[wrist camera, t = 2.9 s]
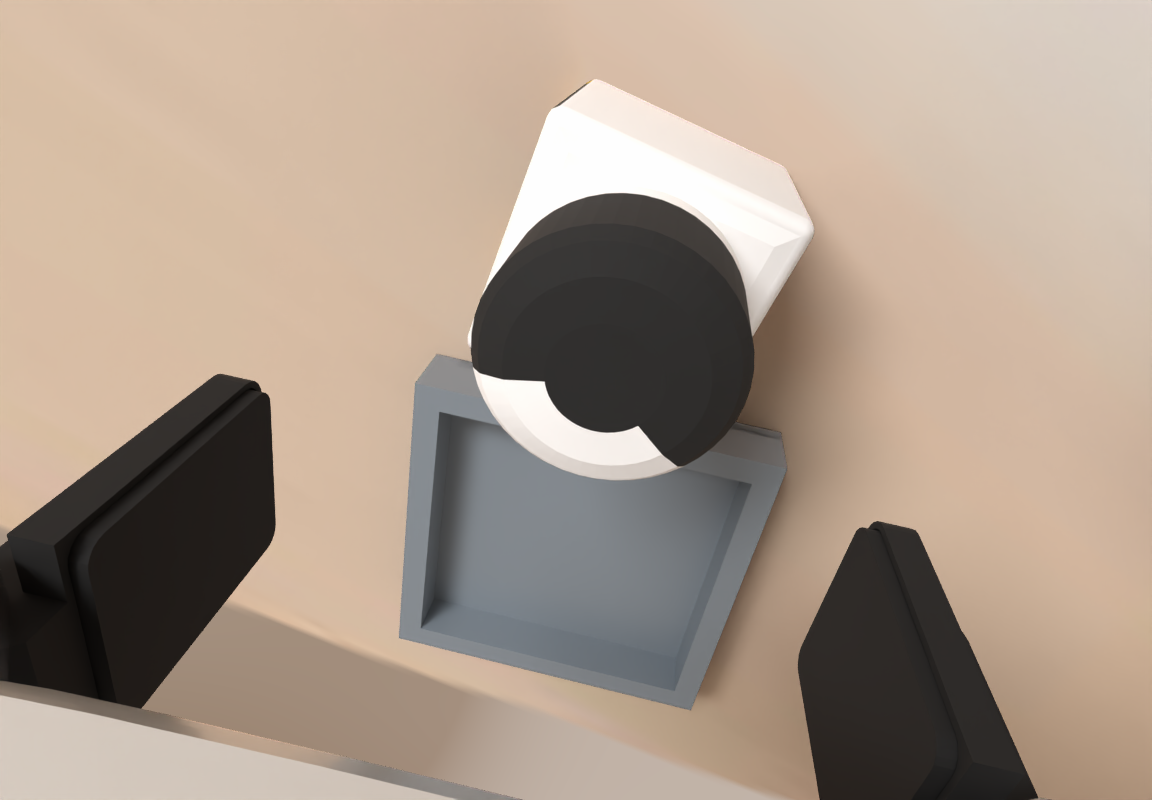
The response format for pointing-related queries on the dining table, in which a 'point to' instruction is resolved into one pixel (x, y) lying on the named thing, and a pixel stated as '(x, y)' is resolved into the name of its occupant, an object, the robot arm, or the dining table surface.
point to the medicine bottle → (632, 287)
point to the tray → (575, 549)
